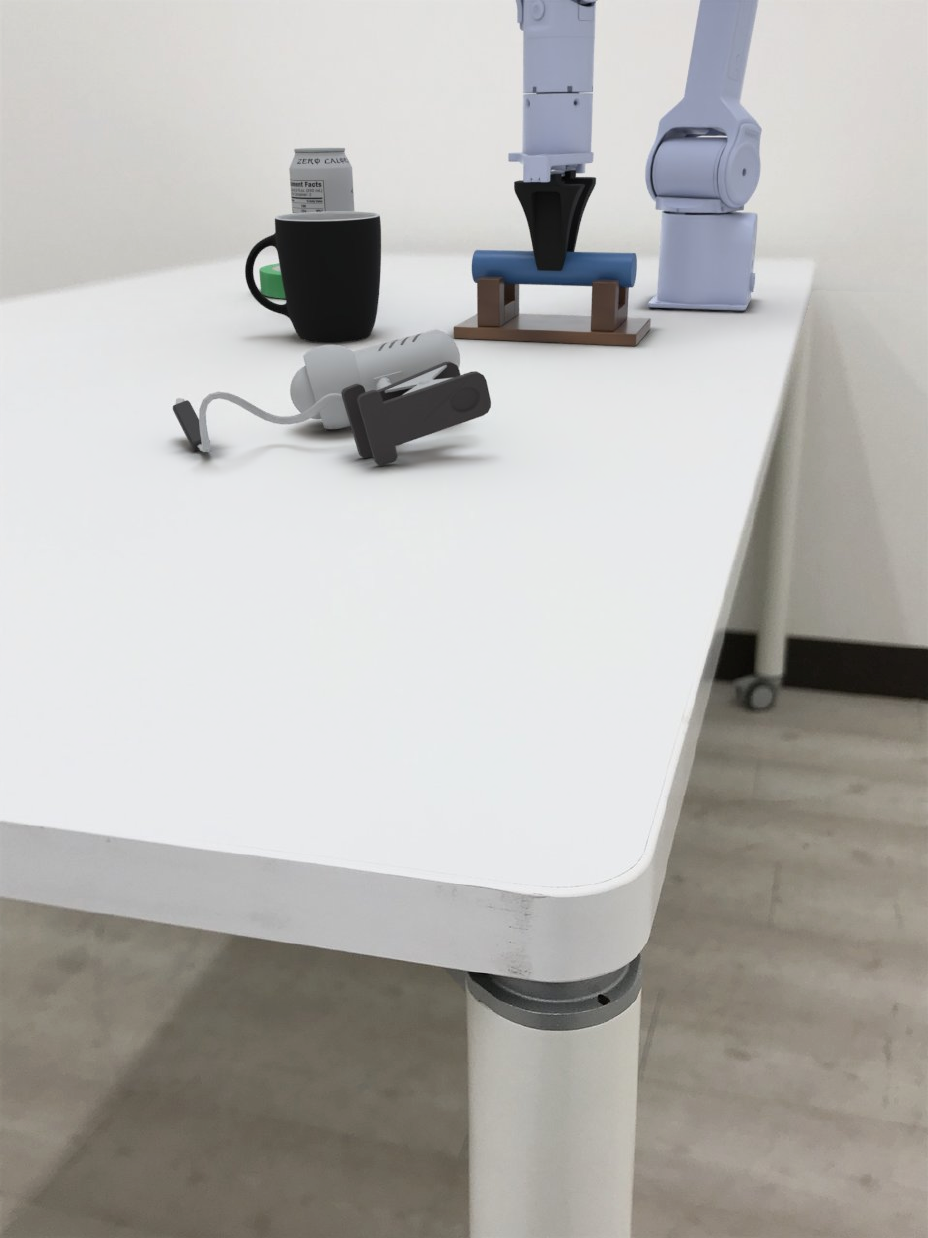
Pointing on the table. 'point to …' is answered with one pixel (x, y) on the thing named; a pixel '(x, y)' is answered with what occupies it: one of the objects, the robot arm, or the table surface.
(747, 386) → the table surface
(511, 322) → the holder
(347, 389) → the clip-on lamp
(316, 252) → the mug
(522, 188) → the robot arm
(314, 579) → the table surface
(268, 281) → the tape roll
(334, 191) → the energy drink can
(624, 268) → the handle
